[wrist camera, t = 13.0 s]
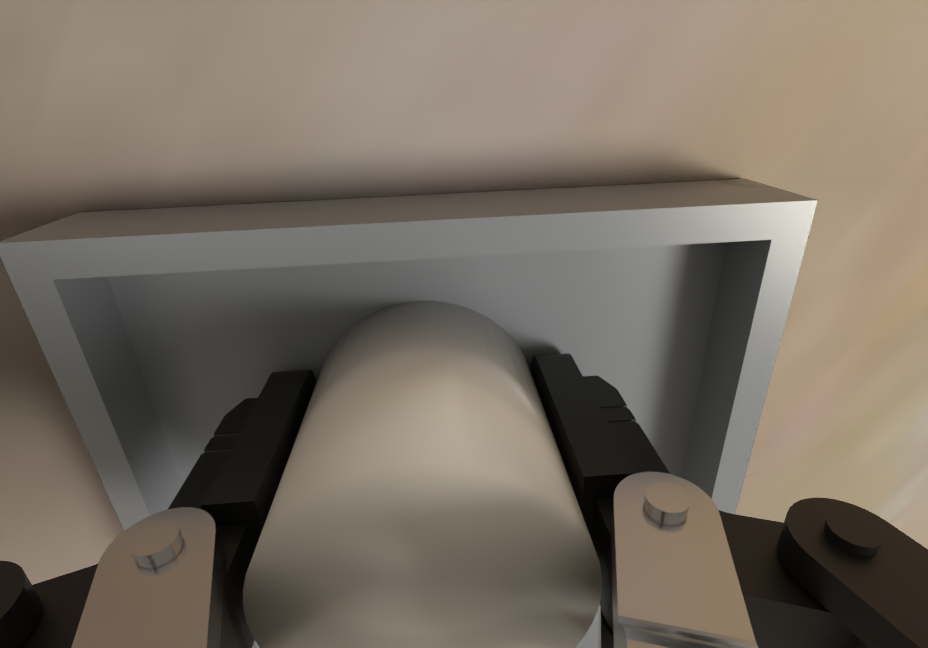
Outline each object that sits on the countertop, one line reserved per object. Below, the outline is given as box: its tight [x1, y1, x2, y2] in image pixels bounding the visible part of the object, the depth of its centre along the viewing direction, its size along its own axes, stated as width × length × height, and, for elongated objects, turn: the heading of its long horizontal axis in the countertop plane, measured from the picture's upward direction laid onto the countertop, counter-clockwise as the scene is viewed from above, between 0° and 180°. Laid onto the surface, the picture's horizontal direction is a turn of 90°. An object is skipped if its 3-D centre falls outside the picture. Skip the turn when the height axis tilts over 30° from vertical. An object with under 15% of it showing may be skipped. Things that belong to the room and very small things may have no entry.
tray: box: [0, 179, 818, 648], centre depth 12 cm, size 15×12×2 cm
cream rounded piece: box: [243, 301, 602, 648], centre depth 8 cm, size 4×4×5 cm
